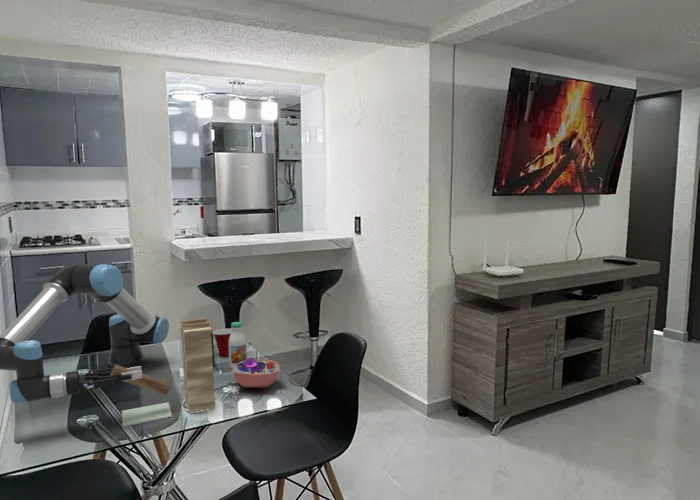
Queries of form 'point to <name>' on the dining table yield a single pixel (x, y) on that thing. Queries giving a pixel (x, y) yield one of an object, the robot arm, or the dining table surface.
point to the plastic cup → (223, 341)
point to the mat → (146, 414)
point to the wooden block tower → (197, 365)
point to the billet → (144, 381)
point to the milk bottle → (237, 345)
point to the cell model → (256, 373)
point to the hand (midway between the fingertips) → (141, 372)
